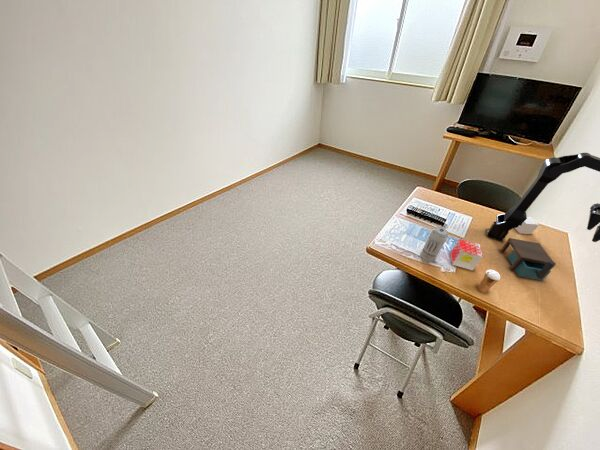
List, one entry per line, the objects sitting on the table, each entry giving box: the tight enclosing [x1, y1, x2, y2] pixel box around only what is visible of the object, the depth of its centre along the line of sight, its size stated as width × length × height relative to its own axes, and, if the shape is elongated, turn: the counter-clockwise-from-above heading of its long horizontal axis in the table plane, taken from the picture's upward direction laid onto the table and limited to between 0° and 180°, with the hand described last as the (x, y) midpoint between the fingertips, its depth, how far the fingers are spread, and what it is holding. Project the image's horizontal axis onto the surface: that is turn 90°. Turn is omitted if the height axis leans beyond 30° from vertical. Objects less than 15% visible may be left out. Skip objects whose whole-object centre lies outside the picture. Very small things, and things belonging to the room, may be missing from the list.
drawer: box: [507, 249, 557, 281], centre depth 108 cm, size 14×9×12 cm, turn 169°
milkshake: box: [477, 269, 501, 293], centre depth 99 cm, size 4×5×10 cm
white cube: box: [514, 216, 540, 235], centre depth 133 cm, size 6×6×6 cm
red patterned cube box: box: [450, 238, 484, 271], centre depth 111 cm, size 8×8×8 cm
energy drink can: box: [419, 226, 449, 263], centre depth 109 cm, size 6×6×15 cm
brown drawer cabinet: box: [499, 237, 554, 271], centre depth 114 cm, size 12×12×8 cm
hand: (590, 235), depth 110 cm, fingers open, 9 cm apart
